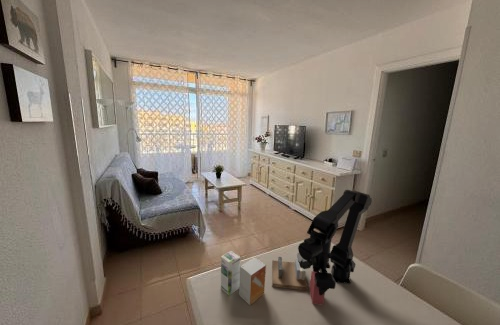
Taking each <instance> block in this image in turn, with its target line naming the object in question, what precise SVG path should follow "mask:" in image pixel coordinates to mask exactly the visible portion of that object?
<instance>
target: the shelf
mask: <svg viewBox="0 0 500 325" xmlns="http://www.w3.org/2000/svg"><path fill="white" fill-rule="evenodd" d="M271 262H272V264H271V280H272V282H271V283H272V284H271V285H272V286H271V287H273V288H274V287H275V288H281V289H282V288H283V289H293V290H301V291H302V290H304V291H307V290H308V285H307V284H308V282H307V279H306V278H305V280H302V279H299V280H297V279H296V274H295V261H294V262H293V261H284V260H282V268H283V271H282V279H279V278H278V260H274V259H273V260H272V261H271Z"/></svg>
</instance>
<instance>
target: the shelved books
mask: <svg viewBox="0 0 500 325" xmlns="http://www.w3.org/2000/svg"><path fill="white" fill-rule="evenodd" d="M294 263H295V274H296V279H297V280H299V279H302V280H305V279H306V269H303V268H301V267H300V265H299V262H298V258H295V259H294Z"/></svg>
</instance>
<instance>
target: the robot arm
mask: <svg viewBox="0 0 500 325" xmlns="http://www.w3.org/2000/svg"><path fill="white" fill-rule="evenodd" d="M372 204H373V199H372V197H371V196H370V194H368V193H365V192H362V191H357V190H351V189H345V190H344V191H343V194H342V195H341V196H340V197H339V198H338V199H337V200H336V201H335V202H334V204H332V205H331V206H330V208H329V209H326V210H322V211H320V212H319V213H318V214H317V215H315V216H314V218H313V219H312V221H311V224H310V225H309V227H308V228H307V232H306V234H307V235H309V237H308V238H305V239H304V240H303V241H302V242H301V243H299V245H298V246H297V249H298V252H297V254H296V257H297V258H296V259H298V262H299V265H300V267H301V268H303V269H305V270H307V269H310V268H311V267H312V271H313V272H317V273H315V276H314V277H315V279H314V280H315V284H316V286H317V287H318V289H319V295H323V294H324V293H326V292H327V291H328V290H330V289H332V290H334V289H336V285H337V283H341V284H352V281H351V280H350V278H351V276H350V275H351V273H355V268H356V262H355V261H354V260H353V258H354V252H353V249H352V245H353V243H354V241H355V240H354V239H355V236H356V233H357V229H358V227H359V223H360V220H361V217H362V215H363V214H364V213H366V212H367V211H368V210H369V208H370V206H371V205H372ZM347 211H348V212H347ZM346 212H347V213H348V214H347V217H346V220H345V223H344V226H343V229H342V232H341V237H340V240H339V242H338V243H336V244H335V245H333V246H331V245H332V240H333V238H334V236H335V235H336V232H337V230H338V228H339V221H340V220H341V219H342V217H343V216H344V215H345V214H346ZM318 231H319V232H318ZM330 263H332V265H330ZM327 269H331V271H330V272H328V270H327Z"/></svg>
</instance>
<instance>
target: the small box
mask: <svg viewBox="0 0 500 325" xmlns="http://www.w3.org/2000/svg"><path fill="white" fill-rule="evenodd" d="M266 267H267V265H266V264H265V263H263V262H262V261H261V260H259V259H258V258H256V257H253V258H251V259H250V260H247V261H246V262H244V263H243V264H242V265H241V264H240V284H239V289H238V290H239V291H238V292H239V293H238V295H239V297H240V298H241V299H243V300H244V301H245V302H246V303H247V304H248V306H251V305H252V304H253V303H254V302H256V301H257V300H258V299H259V298H261V297H262V296H263V295H264V294H265V287H266V286H265V284H266V272H267V271H266V269H267V268H266Z"/></svg>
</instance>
